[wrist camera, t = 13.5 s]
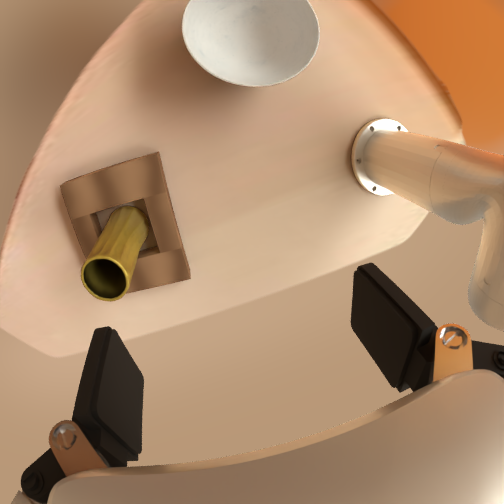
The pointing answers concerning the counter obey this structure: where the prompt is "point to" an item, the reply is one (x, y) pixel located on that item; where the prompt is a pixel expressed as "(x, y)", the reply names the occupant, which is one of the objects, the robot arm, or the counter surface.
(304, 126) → the counter surface
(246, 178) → the counter surface
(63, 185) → the vase stand
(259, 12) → the chinaware
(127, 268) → the vase
